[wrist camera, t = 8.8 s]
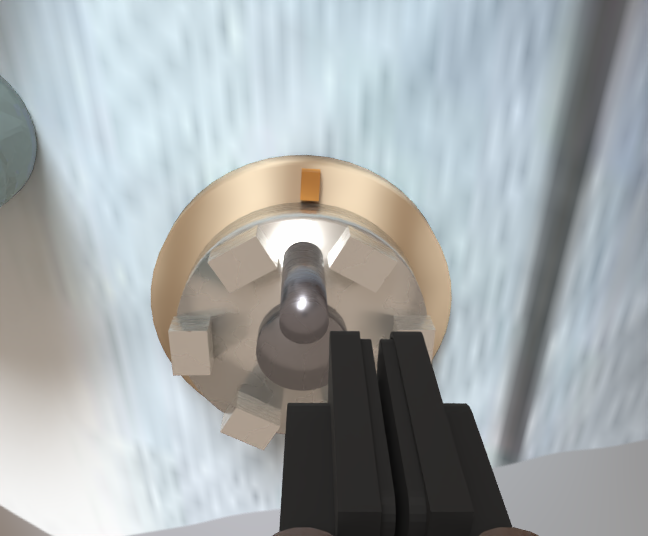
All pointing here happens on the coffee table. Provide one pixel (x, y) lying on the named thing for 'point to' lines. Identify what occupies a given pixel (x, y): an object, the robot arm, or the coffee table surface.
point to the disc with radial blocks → (287, 310)
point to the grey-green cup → (14, 143)
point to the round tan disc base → (292, 187)
